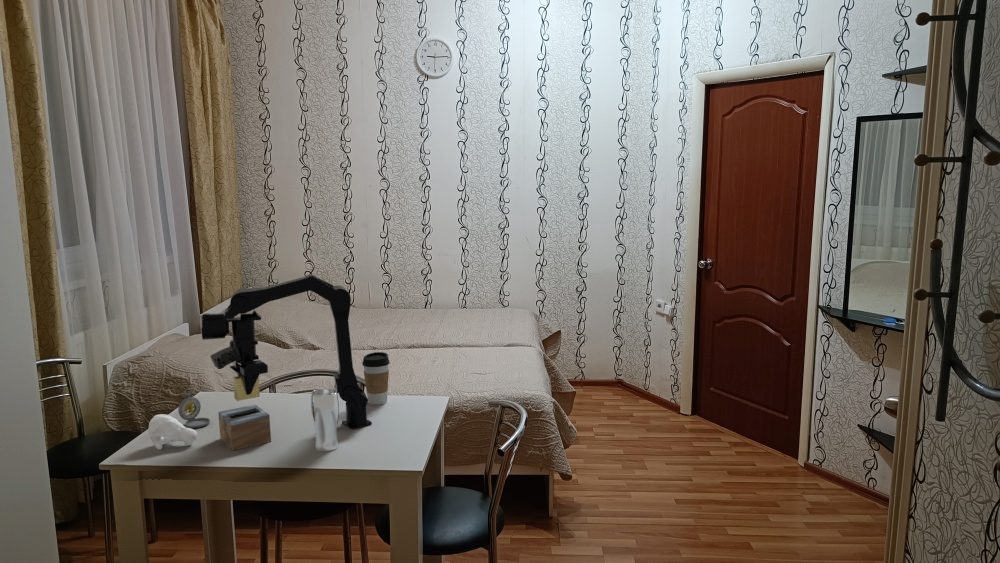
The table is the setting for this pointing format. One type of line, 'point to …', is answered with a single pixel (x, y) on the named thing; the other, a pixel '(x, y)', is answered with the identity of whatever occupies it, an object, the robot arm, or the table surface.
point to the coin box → (244, 426)
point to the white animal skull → (169, 431)
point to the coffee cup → (376, 377)
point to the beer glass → (325, 418)
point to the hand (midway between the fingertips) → (247, 393)
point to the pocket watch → (192, 412)
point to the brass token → (240, 389)
